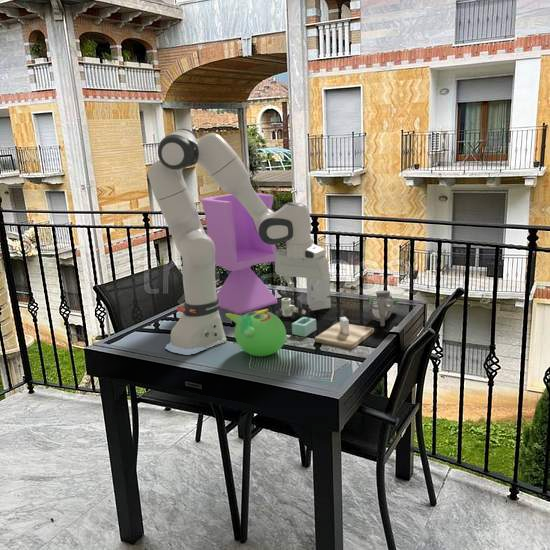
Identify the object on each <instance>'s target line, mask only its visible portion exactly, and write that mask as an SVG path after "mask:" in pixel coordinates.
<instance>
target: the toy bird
mask: <svg viewBox="0 0 550 550" xmlns="http://www.w3.org/2000/svg"><path fill="white" fill-rule="evenodd" d="M224 315H225V316H226V318H228V319H229V320H231V321H232V322H234V324H235V327H234V338H235V340H236V343H237V344H238V346H239V348H241V349H242V351H244V352H245V353H247V354H249V355H251V356H254V357H266V356H270V355H274V354H275V353H277V352H279V350H280V349H282V347H283V346H284V344H285V343H286V339H287V330H286V327H285V325H284V323H283V321H282V319H280V317H278V316H277V315H276V314H274V313H272V312H270V311H269V308H265V309H264V308H262V309H259V310H254V311H251V312H248V313H244V315H236V314H234V313H231V312H227V313H225V314H224Z"/></svg>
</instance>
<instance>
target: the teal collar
mask: <svg viewBox="0 0 550 550" xmlns="http://www.w3.org/2000/svg"><path fill="white" fill-rule="evenodd" d="M299 318H300V317H299ZM299 318H298V319H297V320H296V321H294V322H291V333H292V335H295V336H300V337H308V336H310V334H312V333H314V332H316V330H318V329H317V319H316V318H313V317H302V318H300V319H299Z"/></svg>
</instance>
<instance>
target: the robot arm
mask: <svg viewBox="0 0 550 550" xmlns="http://www.w3.org/2000/svg"><path fill="white" fill-rule="evenodd" d="M157 157H158V159H159V160H157V161H155V162H153V163H152V164H151V165H150V166H149V167H148V170H147V175H148V180H149V181H148V182H149V185H150V187H151V190H152V193H153V195H154V197H155V200H156V203H157V205H158V207H159V209H160V211H161V214H162V215H163V218H164V220H165V223H166V225H167V228H168V229H169V232H170V235H171V237H172V240H173V242H174V244H175V245H174V246H176V249H177V251H178V252H179V254H180V255H181V260H182V283H183V284H182V285H183V292H184V300H185V301H184V302H183V306H181V305H178V306H177V308H176V311H177V312H179V313H182V315H181V316H180V318H179V320H178V321H177V322H176V323H175V325H174V326H173V327H172V329H171V332H170V342H171V345H173V346H176V347H179V348H184V349H194V348H198V347H199V348H201V347H203V348H207V347H210V346H213V345H217V344H220V345H222V344H224V342H225V343H227V342H228V341H227V337H226V336H227V334H226V332H225V330H224V326H223V322H222V318H221V314H220V308H219V300H218V298H217V293H218V292H217V285H216V265H215V245H214V242H213V241H212V239H211V238H210V237H209V236H208V235H207V232H206V231H205V230H204V227H203V225H202V222H201V219H200V215H199V213H198V209H197V206H196V204H195V201H194V198H193V196H192V194H191V192H190V190H189V187H188V185H187V183H186V181H185V178H184V175H183V169H185V168H188V167H191V166H194V165H196V164H199V165H200V166H201V167H202V168H204V170H205V171H206V172H207V174H208V175H209V176H210V177H211V179H212V180H213V182H215V184H216V185H217V186H218V187H219V188H220V189H222V191H224V192H226V193H227V194H231V195H233V196H234V197H236V198H237V199H238V200H239V201H240V202H241V204H242V205H243V206H244V208H245V209H246V210H247V212H248V213H249V214H250V215H251V217H252V219H253V222H254V227H255V230H256V232H257V234H258V235H259V237H260V238H261V240H262V241H263V242H265V243H267V244H270V245H274V244H275V245H278V244H282V243H285V246H286V248H278V249H277V250H276V252H275V258H276V259H275V261H274V272H275V274H276V275H277V276H283V277H284V280H285V283H287V288H289V289H294V288H295V282H294V281H292V279H291V277H294V278H303V279H306V278H311V279H313V282H314V284H313V285H312V286H311V291H316V290H317V285H318V283H319V281H320V280H323V279H325V278H327V277H328V275H329V272H330V269H329V261H328V258H327V257H326V256H325V255H326V254H327V250H326V249H325V248H323V247H321V246H320V245H317V244H315V243H314V242H313V239H312V237H311V230H312V224H311V221H312V220H311V216H310V210H309V207H307V205H305V204H303V203H301V202H286V203H285V204H284V205H283V206H282V207H280V208H279V209H277V210H276V211H274V210H272V209H269V208H268V207H267V206H266V205H265V204H264V203H263V201H262V200H261V199H260V197H259V196H258V195H257V193H258V192H256V190H254V188H253V185H252V184H251V180H250V175H249V174H250V173H249V172H248V170H247V168H246V166H245V164H244V162H243V161H242V159H241V158H240V156H239V155H238V154H237V153H236V151H235V150H234V149H233V147H231V145H230V144H229V142H227V141H226V140H225V138H224V137H222V136H221V135H219V134H218V133H216V132H210V133H207V134H204V135H203V136H201V137H200V138H198V136H197V135H196V133H194V132H193V131H191V130H190V129H186V128H179V129H176V130H173V131H171V132H169V133H168V134H167V135H166V136H164V137H163V138H162V139H161V140H160V142H159V144H158V147H157ZM226 341H227V342H226ZM221 343H222V344H221ZM217 346H218V345H217Z"/></svg>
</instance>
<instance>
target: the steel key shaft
mask: <svg viewBox="0 0 550 550" xmlns="http://www.w3.org/2000/svg"><path fill="white" fill-rule="evenodd" d="M349 321H350V320H349V319H348V318H347V316H341V317H340V316H339V322H340V331H341V333H342V334H343V335H349V324H350V323H349Z"/></svg>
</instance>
